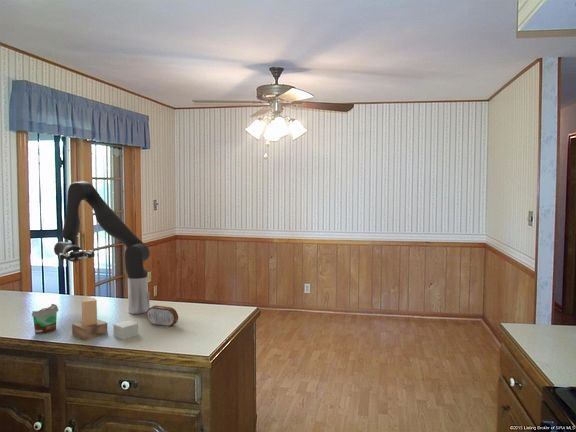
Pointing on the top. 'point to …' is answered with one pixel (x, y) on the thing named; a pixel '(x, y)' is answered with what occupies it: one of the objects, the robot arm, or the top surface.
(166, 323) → the tin
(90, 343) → the top surface
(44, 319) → the food container
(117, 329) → the grey block
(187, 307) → the top surface
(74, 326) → the walnut block
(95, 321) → the ochre pillar
